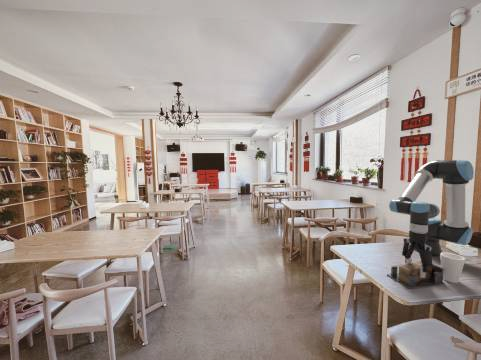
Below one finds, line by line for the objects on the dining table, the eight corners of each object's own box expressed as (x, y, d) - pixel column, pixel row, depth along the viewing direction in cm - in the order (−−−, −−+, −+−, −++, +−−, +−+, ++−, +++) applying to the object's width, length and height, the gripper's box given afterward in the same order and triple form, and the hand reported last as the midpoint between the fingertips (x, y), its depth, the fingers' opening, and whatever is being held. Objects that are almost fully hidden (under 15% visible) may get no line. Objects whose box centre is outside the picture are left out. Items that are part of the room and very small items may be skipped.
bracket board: (419, 271, 127) (420, 258, 126) (444, 283, 114) (446, 269, 114) (387, 275, 122) (387, 262, 122) (409, 288, 110) (410, 273, 109)
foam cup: (465, 286, 112) (467, 261, 111) (441, 281, 117) (442, 257, 116) (459, 278, 120) (461, 254, 119) (437, 273, 125) (438, 251, 124)
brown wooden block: (420, 273, 124) (421, 261, 123) (431, 277, 119) (432, 265, 118) (398, 279, 118) (399, 266, 117) (408, 283, 113) (409, 270, 112)
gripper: (395, 226, 125) (392, 265, 127) (432, 238, 106) (428, 284, 108) (406, 225, 127) (403, 264, 129) (444, 237, 107) (441, 282, 109)
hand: (415, 273), depth 118 cm, fingers open, 7 cm apart
